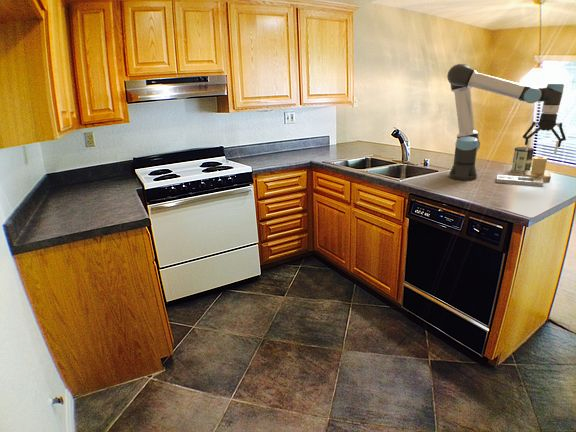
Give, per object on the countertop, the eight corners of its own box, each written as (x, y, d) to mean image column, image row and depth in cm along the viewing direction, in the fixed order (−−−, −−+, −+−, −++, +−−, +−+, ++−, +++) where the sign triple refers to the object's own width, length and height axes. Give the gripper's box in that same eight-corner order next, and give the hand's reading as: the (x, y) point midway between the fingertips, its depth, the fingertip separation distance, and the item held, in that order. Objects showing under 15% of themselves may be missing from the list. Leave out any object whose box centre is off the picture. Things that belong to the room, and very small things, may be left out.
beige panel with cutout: (496, 182, 211) (496, 178, 210) (496, 177, 220) (497, 174, 219) (542, 186, 201) (543, 182, 200) (541, 181, 210) (542, 177, 209)
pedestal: (524, 179, 214) (525, 174, 213) (524, 175, 224) (525, 170, 223) (549, 181, 208) (550, 176, 207) (548, 176, 218) (549, 171, 217)
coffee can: (526, 169, 237) (530, 147, 233) (532, 173, 228) (537, 149, 223) (508, 169, 240) (512, 147, 235) (514, 172, 230) (518, 149, 225)
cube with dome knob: (531, 173, 214) (534, 158, 211) (531, 171, 219) (534, 156, 216) (543, 174, 211) (547, 158, 208) (543, 172, 216) (546, 156, 213)
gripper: (522, 112, 207) (515, 151, 214) (578, 114, 195) (568, 155, 202) (522, 111, 213) (515, 148, 220) (576, 113, 201) (566, 152, 208)
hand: (540, 151), depth 211 cm, fingers open, 13 cm apart
